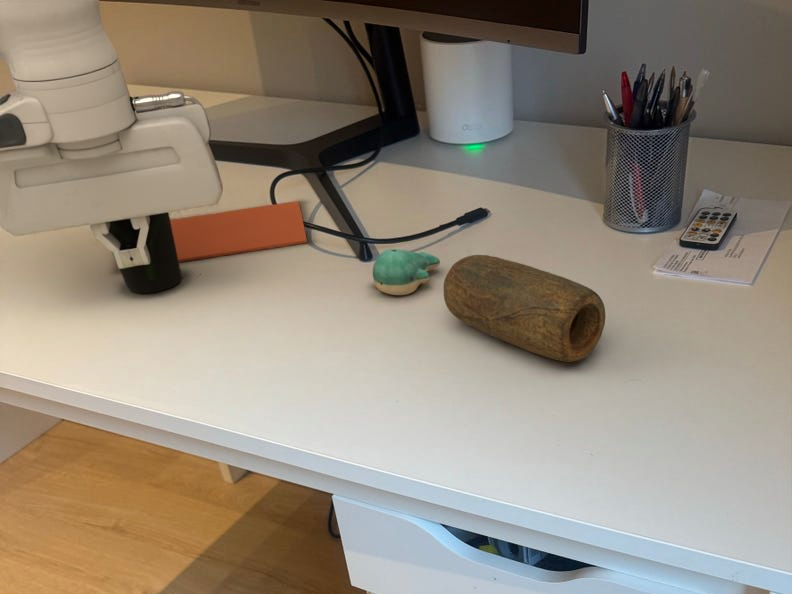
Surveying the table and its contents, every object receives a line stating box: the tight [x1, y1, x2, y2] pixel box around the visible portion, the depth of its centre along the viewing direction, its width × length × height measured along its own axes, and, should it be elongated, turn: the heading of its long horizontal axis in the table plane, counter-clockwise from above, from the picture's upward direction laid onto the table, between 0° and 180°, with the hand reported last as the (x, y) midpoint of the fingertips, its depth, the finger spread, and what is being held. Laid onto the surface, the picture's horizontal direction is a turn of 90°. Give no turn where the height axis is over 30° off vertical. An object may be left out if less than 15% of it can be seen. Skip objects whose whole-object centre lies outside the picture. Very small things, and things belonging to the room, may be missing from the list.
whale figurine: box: [372, 248, 441, 296], centre depth 88 cm, size 6×7×4 cm
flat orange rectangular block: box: [170, 200, 308, 263], centre depth 101 cm, size 20×12×1 cm, turn 102°
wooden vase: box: [443, 254, 606, 363], centre depth 78 cm, size 15×7×7 cm, turn 48°
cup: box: [109, 212, 183, 294], centre depth 89 cm, size 8×8×12 cm
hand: (135, 264), depth 88 cm, fingers closed, pressing on cup
